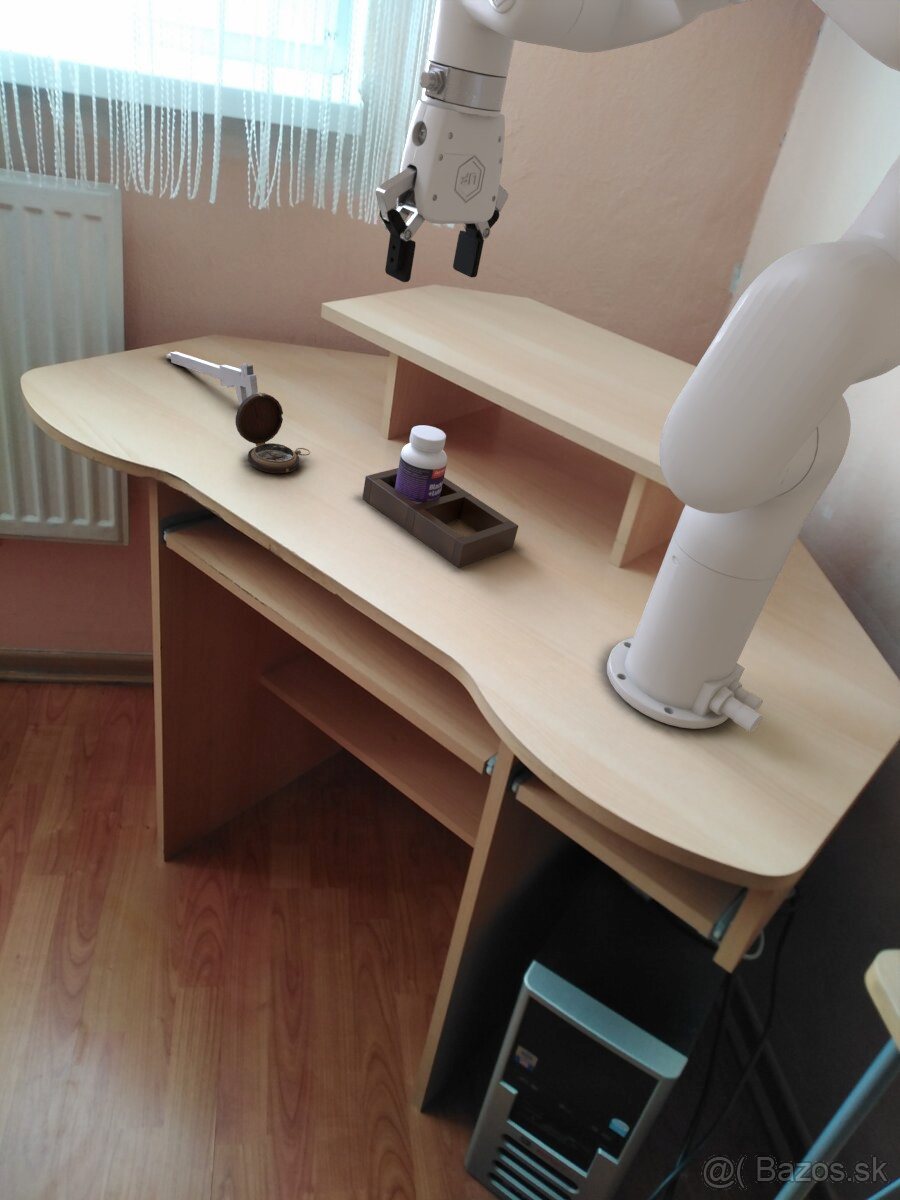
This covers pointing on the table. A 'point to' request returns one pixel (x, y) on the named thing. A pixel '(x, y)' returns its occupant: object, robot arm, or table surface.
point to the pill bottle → (422, 465)
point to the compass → (265, 434)
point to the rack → (443, 519)
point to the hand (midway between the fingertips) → (431, 275)
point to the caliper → (221, 373)
